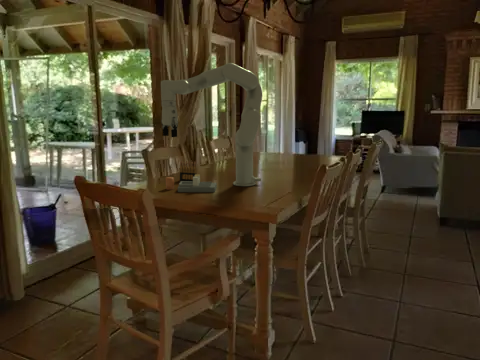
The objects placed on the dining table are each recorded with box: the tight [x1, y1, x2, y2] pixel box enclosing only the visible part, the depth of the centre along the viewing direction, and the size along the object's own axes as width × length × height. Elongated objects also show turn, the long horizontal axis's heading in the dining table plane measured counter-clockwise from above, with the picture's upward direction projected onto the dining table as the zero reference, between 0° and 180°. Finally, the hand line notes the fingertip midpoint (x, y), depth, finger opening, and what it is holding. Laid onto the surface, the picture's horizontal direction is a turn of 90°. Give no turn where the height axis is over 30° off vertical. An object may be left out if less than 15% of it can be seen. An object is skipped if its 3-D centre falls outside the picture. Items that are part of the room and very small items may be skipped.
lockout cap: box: [165, 176, 175, 191], centre depth 214 cm, size 4×4×6 cm
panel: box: [177, 181, 218, 193], centre depth 212 cm, size 19×12×4 cm, turn 89°
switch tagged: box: [194, 174, 201, 183], centre depth 214 cm, size 2×3×5 cm
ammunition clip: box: [179, 160, 198, 182], centre depth 235 cm, size 11×2×12 cm, turn 70°
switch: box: [193, 177, 199, 186], centre depth 208 cm, size 2×3×5 cm
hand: (170, 136), depth 217 cm, fingers open, 9 cm apart
